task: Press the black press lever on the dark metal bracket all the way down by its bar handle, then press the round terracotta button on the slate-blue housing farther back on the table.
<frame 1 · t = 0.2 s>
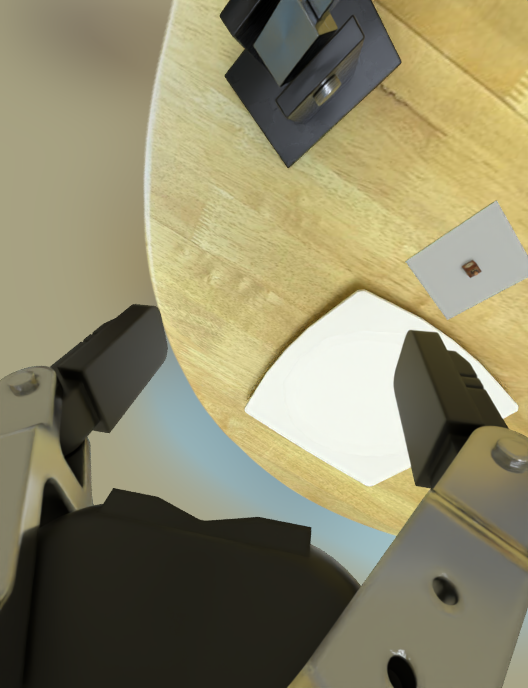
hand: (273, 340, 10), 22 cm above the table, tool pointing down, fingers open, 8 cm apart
lever bracket: (309, 72, 23), on the table
grey square pad: (468, 266, 29), on the table
plate: (364, 393, 39), on the table
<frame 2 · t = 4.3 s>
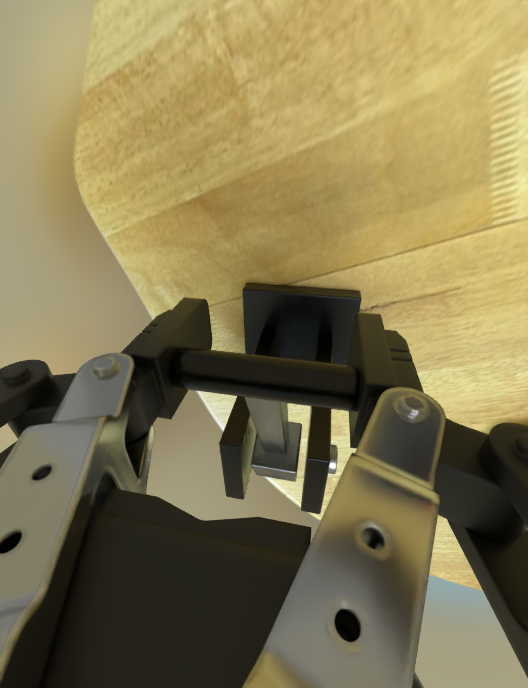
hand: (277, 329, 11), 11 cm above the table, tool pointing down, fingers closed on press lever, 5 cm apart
lever bracket: (297, 345, 24), on the table
press lever: (273, 427, 13), point 12 cm above the table, hinge at 24.9°, touching gripper
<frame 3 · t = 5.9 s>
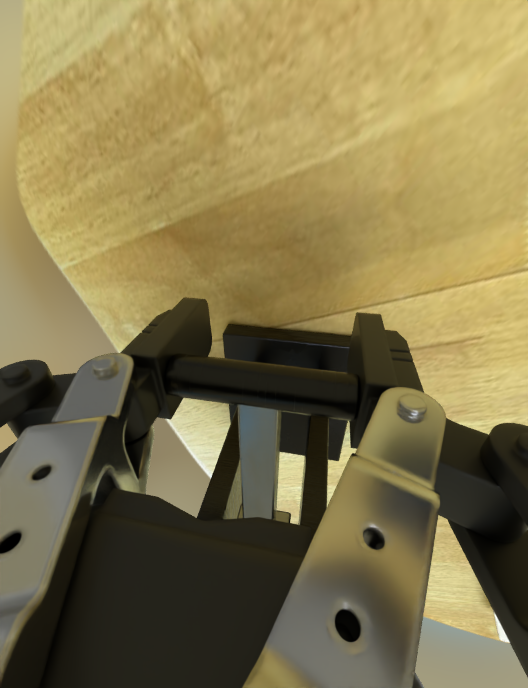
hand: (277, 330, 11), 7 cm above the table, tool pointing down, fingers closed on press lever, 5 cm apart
lever bracket: (289, 392, 21), on the table
press lever: (260, 495, 11), point 10 cm above the table, hinge at -3.1°, touching gripper
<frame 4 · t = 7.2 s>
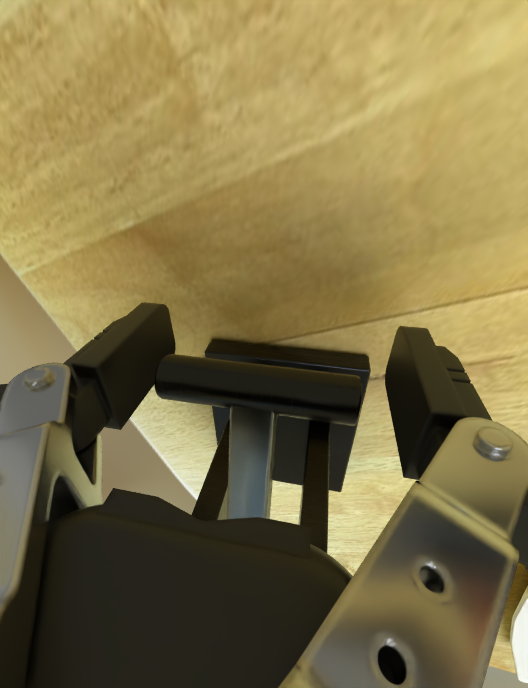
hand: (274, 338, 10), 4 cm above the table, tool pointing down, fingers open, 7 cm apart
lever bracket: (283, 415, 18), on the table
press lever: (247, 539, 9), point 9 cm above the table, hinge at -18.8°
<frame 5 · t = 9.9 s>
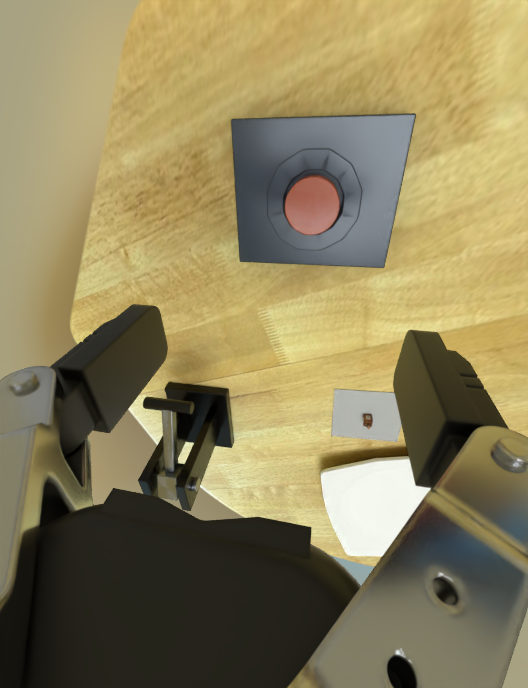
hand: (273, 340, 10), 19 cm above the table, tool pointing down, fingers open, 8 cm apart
lever bracket: (202, 413, 42), on the table
grey square pad: (366, 415, 37), on the table
start button: (312, 205, 21), point 4 cm above the table, slide at 0.1 cm
plate: (412, 500, 44), on the table
press lever: (170, 447, 32), point 9 cm above the table, hinge at -18.8°
button box: (314, 195, 25), on the table
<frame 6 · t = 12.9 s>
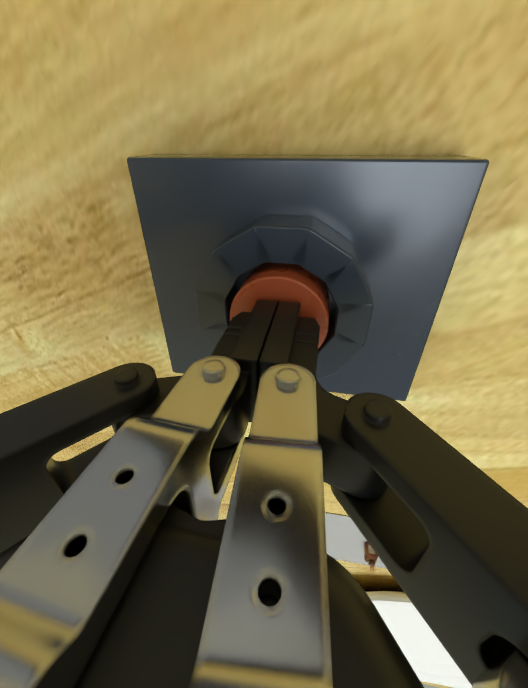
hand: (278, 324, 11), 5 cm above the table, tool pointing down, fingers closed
grey square pad: (369, 542, 27), on the table
start button: (280, 312, 12), point 4 cm above the table, slide at -0.8 cm, touching gripper
plate: (425, 625, 35), on the table
button box: (291, 277, 15), on the table
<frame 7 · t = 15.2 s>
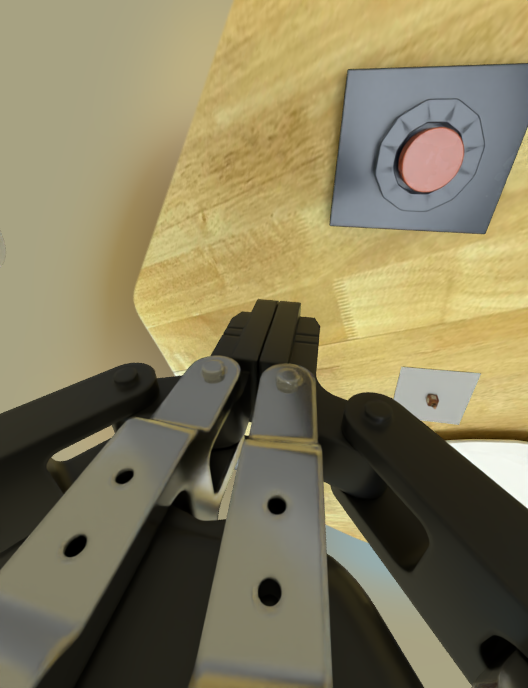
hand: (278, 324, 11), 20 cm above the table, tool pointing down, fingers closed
grey square pad: (430, 395, 36), on the table
start button: (429, 160, 20), point 4 cm above the table, slide at 0.1 cm
plate: (464, 487, 44), on the table
press lever: (238, 417, 32), point 9 cm above the table, hinge at -18.8°
button box: (416, 156, 24), on the table
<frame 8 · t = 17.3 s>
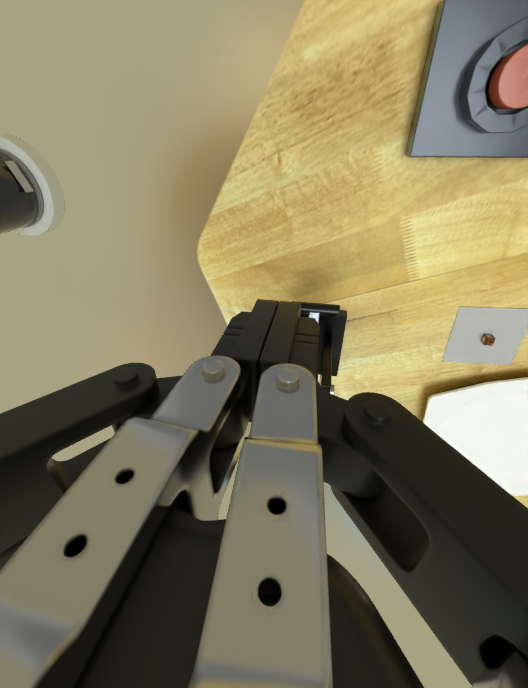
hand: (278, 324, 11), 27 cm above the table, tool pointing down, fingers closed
lever bracket: (312, 340, 43), on the table
grey square pad: (485, 336, 38), on the table
start button: (522, 77, 22), point 4 cm above the table, slide at 0.1 cm
plate: (508, 433, 45), on the table
press lever: (310, 353, 34), point 9 cm above the table, hinge at -18.8°
button box: (496, 86, 26), on the table
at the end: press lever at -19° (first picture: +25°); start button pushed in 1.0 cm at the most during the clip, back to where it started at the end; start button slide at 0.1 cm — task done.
